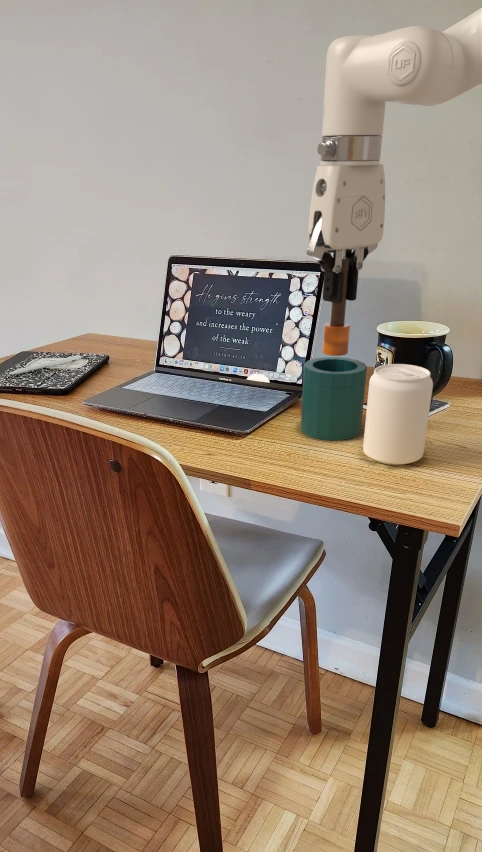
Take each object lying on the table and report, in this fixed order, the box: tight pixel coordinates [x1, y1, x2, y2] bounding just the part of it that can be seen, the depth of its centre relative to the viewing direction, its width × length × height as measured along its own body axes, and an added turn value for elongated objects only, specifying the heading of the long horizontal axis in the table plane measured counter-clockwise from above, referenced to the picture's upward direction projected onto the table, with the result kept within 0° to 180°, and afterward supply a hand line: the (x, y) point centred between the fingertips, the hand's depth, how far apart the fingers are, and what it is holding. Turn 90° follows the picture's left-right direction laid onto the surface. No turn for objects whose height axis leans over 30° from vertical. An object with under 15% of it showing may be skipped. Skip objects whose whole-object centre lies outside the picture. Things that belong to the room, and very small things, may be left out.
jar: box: [300, 356, 368, 441], centre depth 102 cm, size 9×9×10 cm
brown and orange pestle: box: [321, 256, 351, 357], centre depth 96 cm, size 4×4×13 cm
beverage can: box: [362, 363, 434, 466], centre depth 93 cm, size 8×8×12 cm
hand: (339, 299), depth 96 cm, fingers closed on brown and orange pestle, 2 cm apart
